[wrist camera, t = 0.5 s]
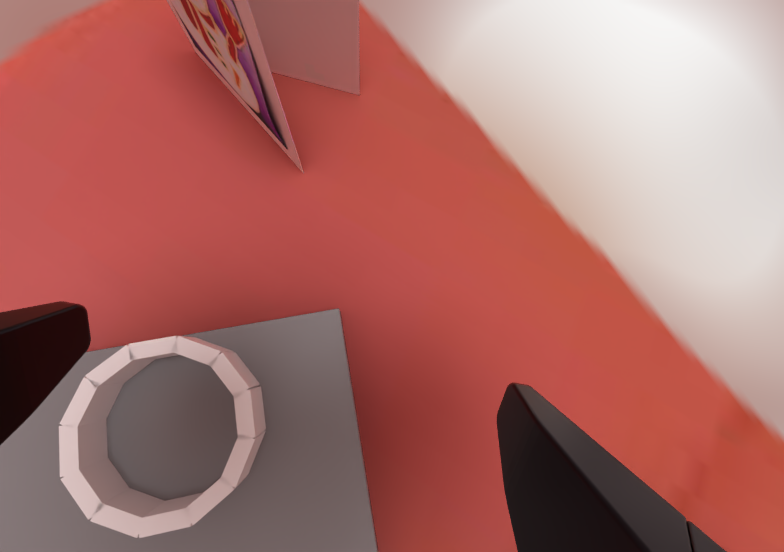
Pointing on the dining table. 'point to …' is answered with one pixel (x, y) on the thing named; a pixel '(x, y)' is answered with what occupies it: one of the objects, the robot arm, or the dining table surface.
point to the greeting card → (274, 50)
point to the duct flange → (195, 448)
